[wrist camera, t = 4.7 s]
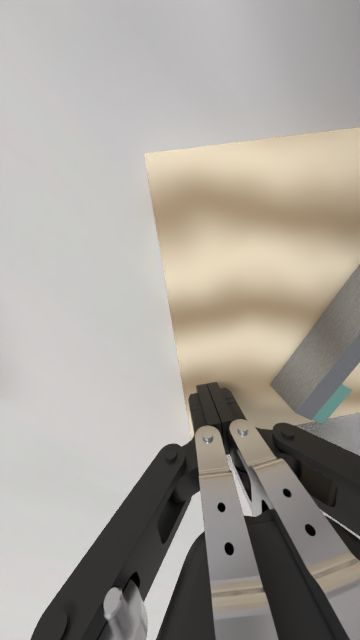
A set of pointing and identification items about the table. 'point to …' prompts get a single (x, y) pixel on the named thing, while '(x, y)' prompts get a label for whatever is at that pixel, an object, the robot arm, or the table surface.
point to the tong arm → (324, 358)
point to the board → (256, 257)
